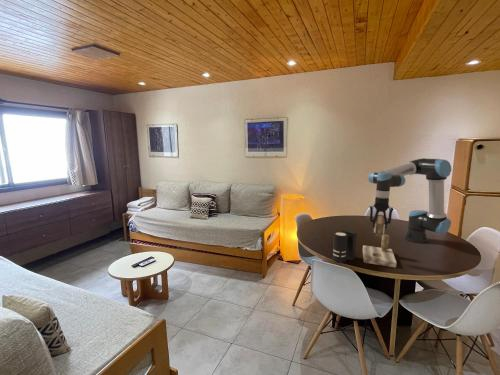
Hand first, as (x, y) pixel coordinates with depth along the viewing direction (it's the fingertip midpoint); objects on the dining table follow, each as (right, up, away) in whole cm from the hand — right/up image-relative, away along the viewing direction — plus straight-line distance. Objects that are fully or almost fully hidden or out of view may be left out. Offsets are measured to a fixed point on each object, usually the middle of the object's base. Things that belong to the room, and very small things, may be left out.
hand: (378, 232), depth 161 cm
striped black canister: (-22, -18, +4) cm, 29 cm away
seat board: (+2, -17, +5) cm, 18 cm away
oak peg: (0, -3, 0) cm, 3 cm away
